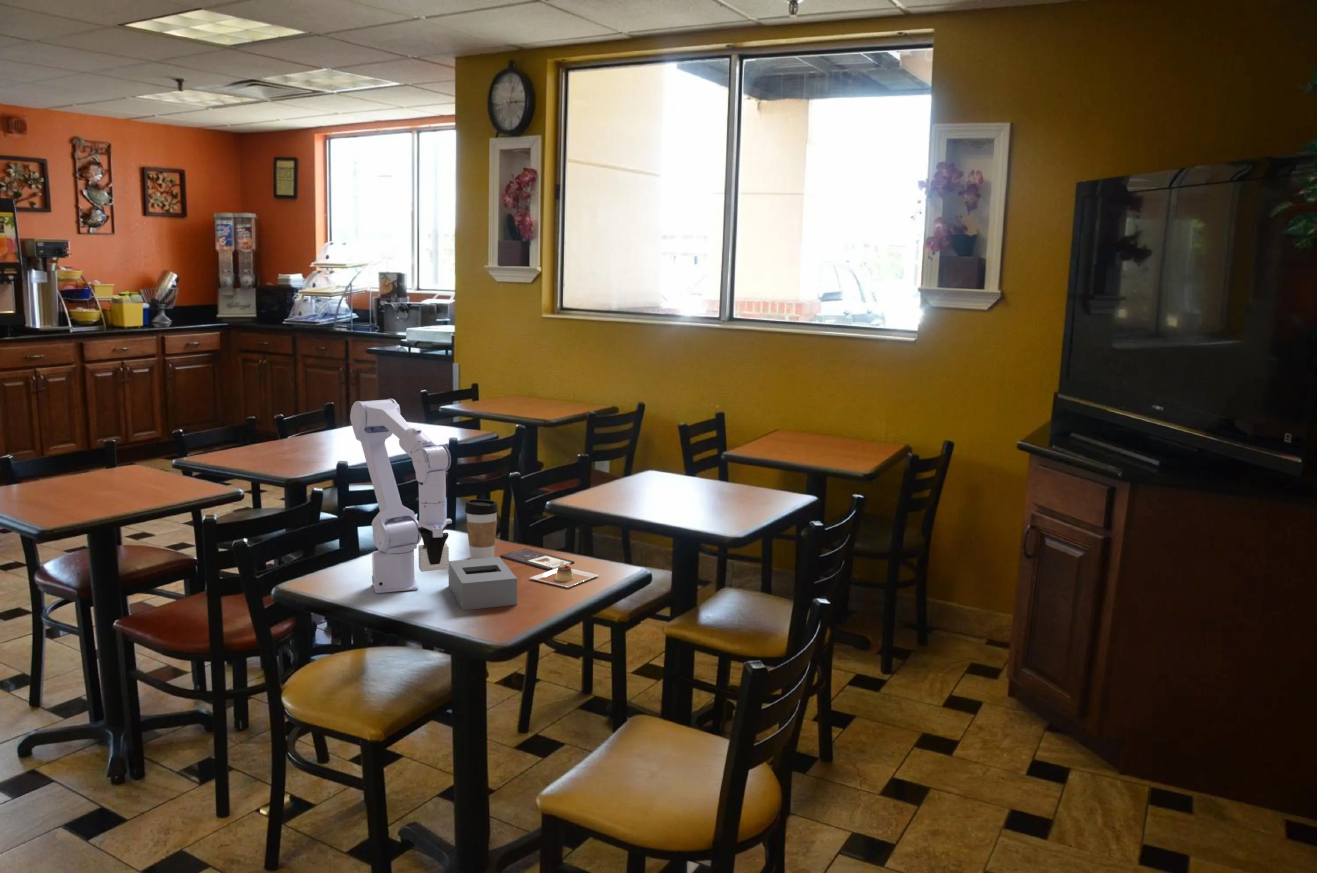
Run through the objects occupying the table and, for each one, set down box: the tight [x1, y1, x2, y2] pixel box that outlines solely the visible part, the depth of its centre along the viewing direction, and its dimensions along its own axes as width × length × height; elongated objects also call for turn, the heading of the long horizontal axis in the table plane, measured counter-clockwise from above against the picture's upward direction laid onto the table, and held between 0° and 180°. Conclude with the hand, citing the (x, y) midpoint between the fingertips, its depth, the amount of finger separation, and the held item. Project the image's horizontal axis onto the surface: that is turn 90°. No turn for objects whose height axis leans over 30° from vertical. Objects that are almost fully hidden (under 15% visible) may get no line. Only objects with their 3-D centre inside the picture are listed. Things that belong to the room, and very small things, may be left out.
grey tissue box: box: [447, 556, 518, 611], centre depth 222 cm, size 12×18×6 cm, turn 21°
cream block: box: [417, 542, 450, 573], centre depth 215 cm, size 6×4×5 cm, turn 111°
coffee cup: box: [464, 498, 499, 559], centre depth 251 cm, size 8×8×15 cm
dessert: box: [529, 562, 600, 589], centre depth 236 cm, size 12×12×5 cm
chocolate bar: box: [499, 548, 575, 572], centre depth 252 cm, size 9×1×18 cm
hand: (433, 561), depth 216 cm, fingers closed on cream block, 3 cm apart
